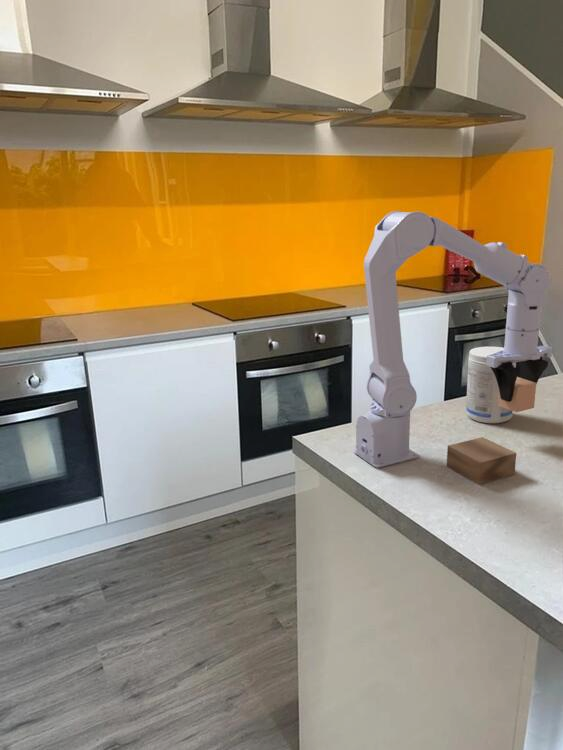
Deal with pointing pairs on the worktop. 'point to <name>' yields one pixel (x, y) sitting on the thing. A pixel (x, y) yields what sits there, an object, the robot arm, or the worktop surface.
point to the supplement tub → (484, 389)
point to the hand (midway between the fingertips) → (516, 397)
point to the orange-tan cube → (520, 396)
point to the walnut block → (481, 460)
